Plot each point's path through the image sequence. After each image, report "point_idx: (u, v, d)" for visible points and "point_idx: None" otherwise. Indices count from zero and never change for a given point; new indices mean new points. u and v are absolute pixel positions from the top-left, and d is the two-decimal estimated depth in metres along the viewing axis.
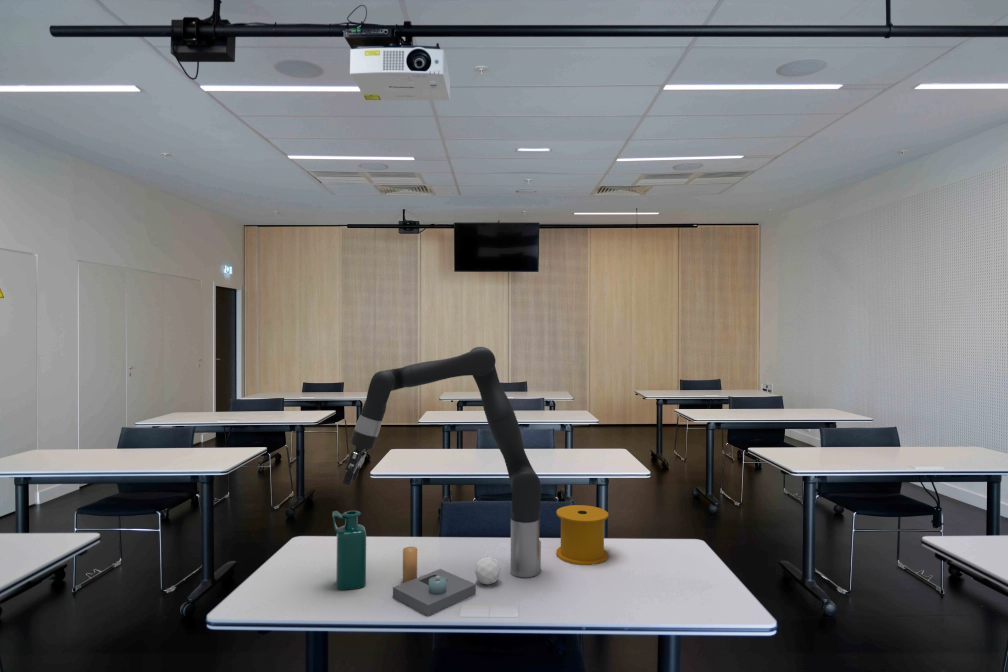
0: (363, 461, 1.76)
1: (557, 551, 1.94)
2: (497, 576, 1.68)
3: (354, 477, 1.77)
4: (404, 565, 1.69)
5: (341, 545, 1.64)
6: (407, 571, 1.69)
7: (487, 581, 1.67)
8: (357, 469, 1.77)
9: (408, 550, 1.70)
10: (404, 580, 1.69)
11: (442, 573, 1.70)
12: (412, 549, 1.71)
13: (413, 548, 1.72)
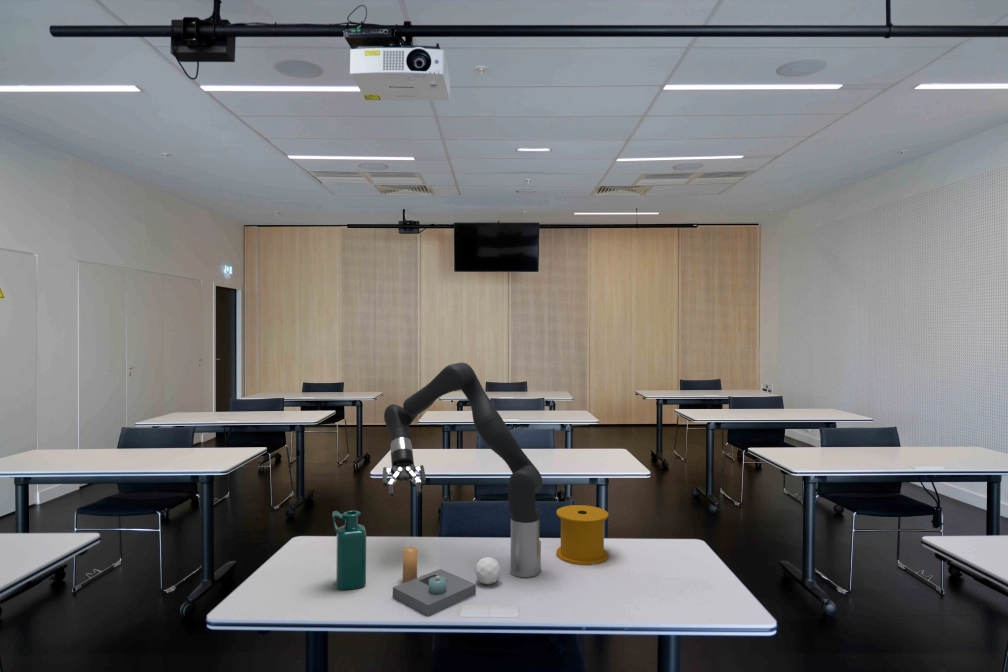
0: (414, 474, 1.86)
1: (557, 551, 1.94)
2: (497, 576, 1.68)
3: (417, 491, 1.83)
4: (404, 565, 1.69)
5: (341, 545, 1.64)
6: (407, 571, 1.69)
7: (487, 581, 1.67)
8: (416, 484, 1.85)
9: (408, 550, 1.70)
10: (404, 580, 1.69)
11: (442, 573, 1.70)
12: (412, 549, 1.71)
13: (413, 548, 1.72)
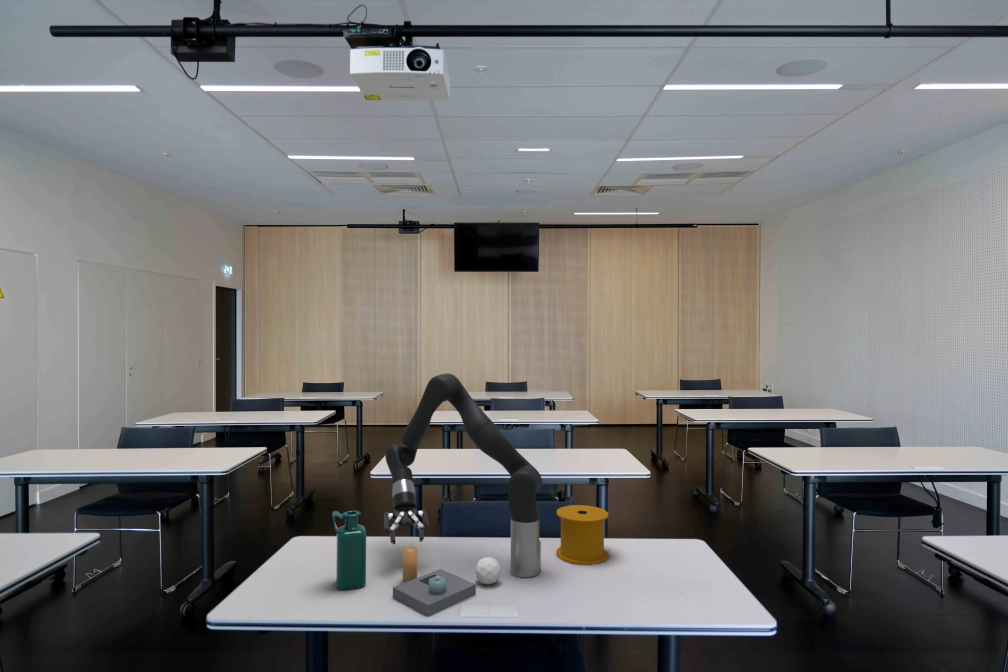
0: (416, 519, 1.81)
1: (557, 551, 1.94)
2: (497, 576, 1.68)
3: (420, 538, 1.78)
4: (404, 565, 1.69)
5: (341, 545, 1.64)
6: (407, 571, 1.69)
7: (487, 581, 1.67)
8: (419, 530, 1.79)
9: (408, 550, 1.70)
10: (404, 580, 1.69)
11: (442, 573, 1.70)
12: (412, 549, 1.71)
13: (413, 548, 1.72)
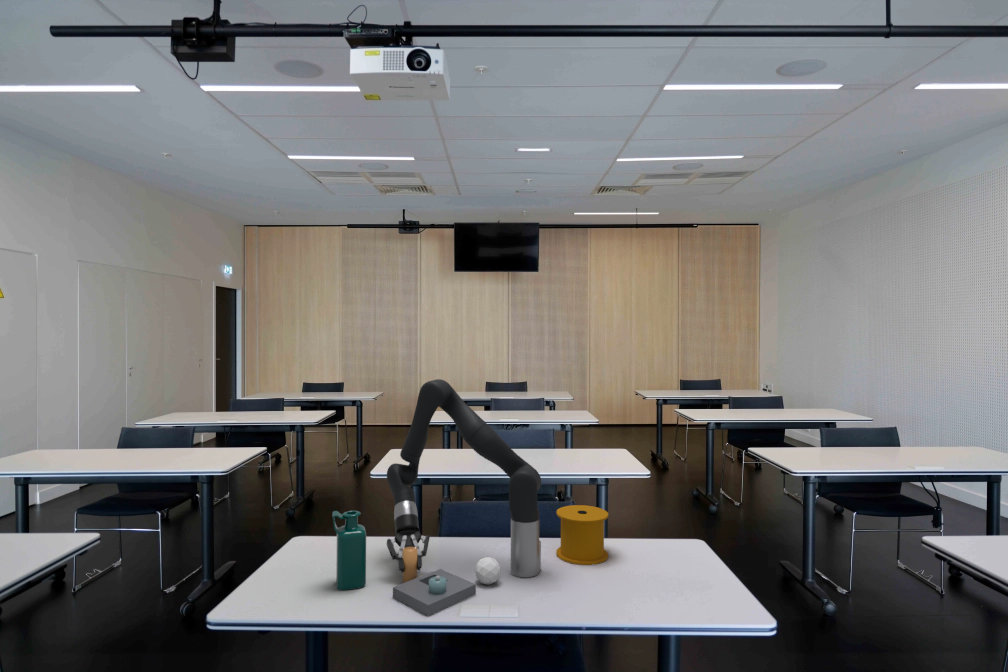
0: (416, 545, 1.73)
1: (557, 551, 1.94)
2: (497, 576, 1.68)
3: (417, 566, 1.70)
4: (404, 565, 1.69)
5: (341, 545, 1.64)
6: (407, 571, 1.69)
7: (487, 581, 1.67)
8: (417, 558, 1.71)
9: (408, 550, 1.70)
10: (404, 580, 1.69)
11: (442, 573, 1.70)
12: (412, 549, 1.71)
13: (413, 548, 1.72)
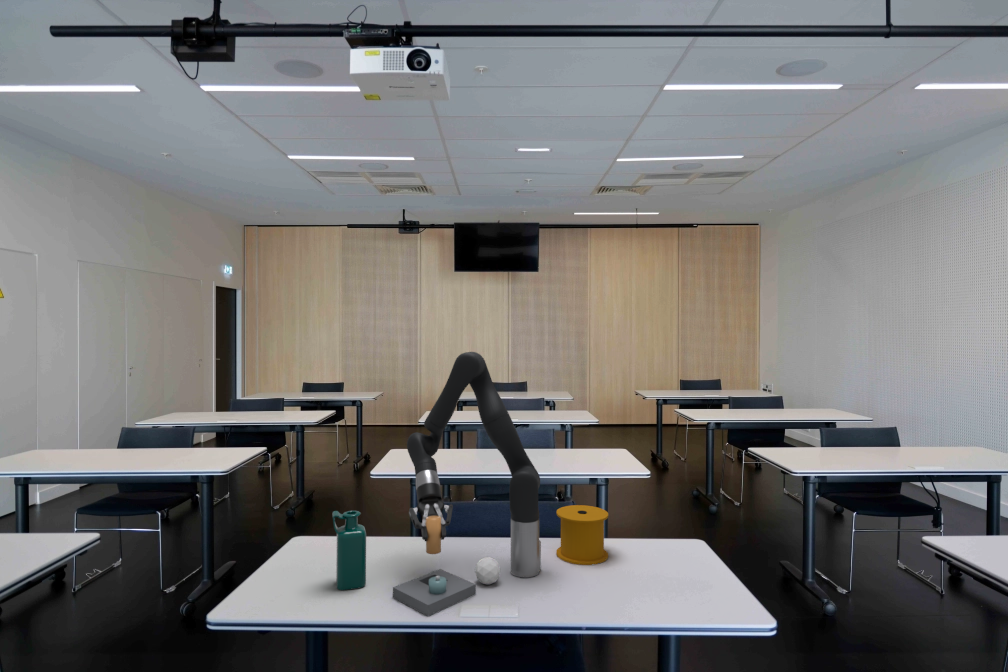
0: (440, 514, 1.67)
1: (557, 551, 1.94)
2: (497, 576, 1.68)
3: (441, 535, 1.64)
4: (428, 534, 1.63)
5: (341, 545, 1.64)
6: (431, 540, 1.63)
7: (487, 581, 1.67)
8: None
9: (432, 518, 1.64)
10: (428, 549, 1.63)
11: (442, 573, 1.70)
12: (436, 517, 1.65)
13: (436, 517, 1.66)
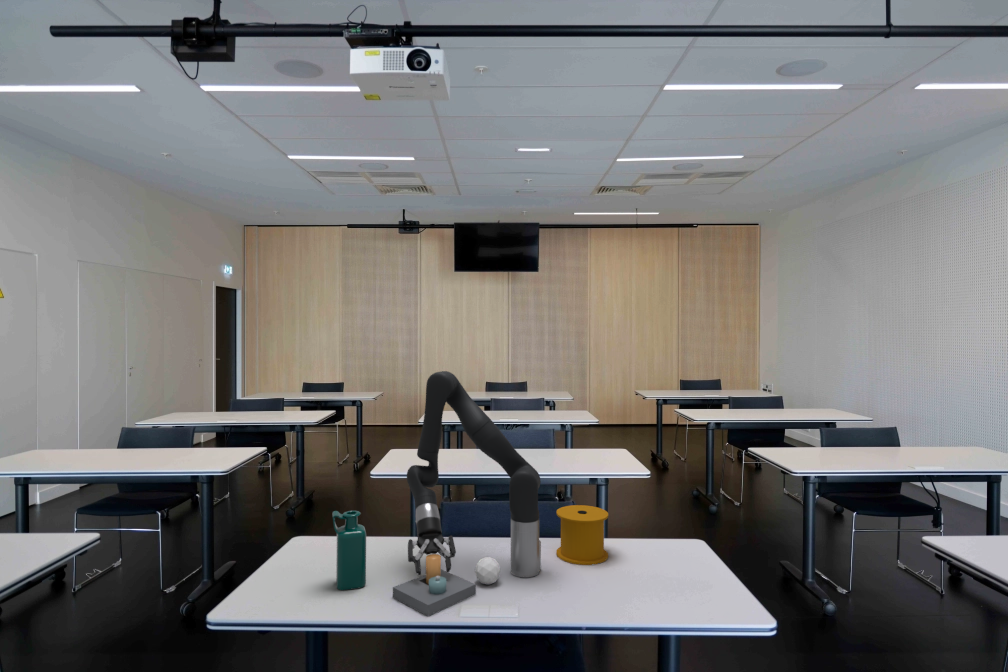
0: (443, 548, 1.68)
1: (557, 551, 1.94)
2: (497, 576, 1.68)
3: (447, 568, 1.65)
4: (427, 573, 1.63)
5: (341, 545, 1.64)
6: None
7: (487, 581, 1.67)
8: (446, 559, 1.66)
9: (431, 558, 1.64)
10: None
11: (442, 573, 1.70)
12: (435, 557, 1.65)
13: (436, 556, 1.66)
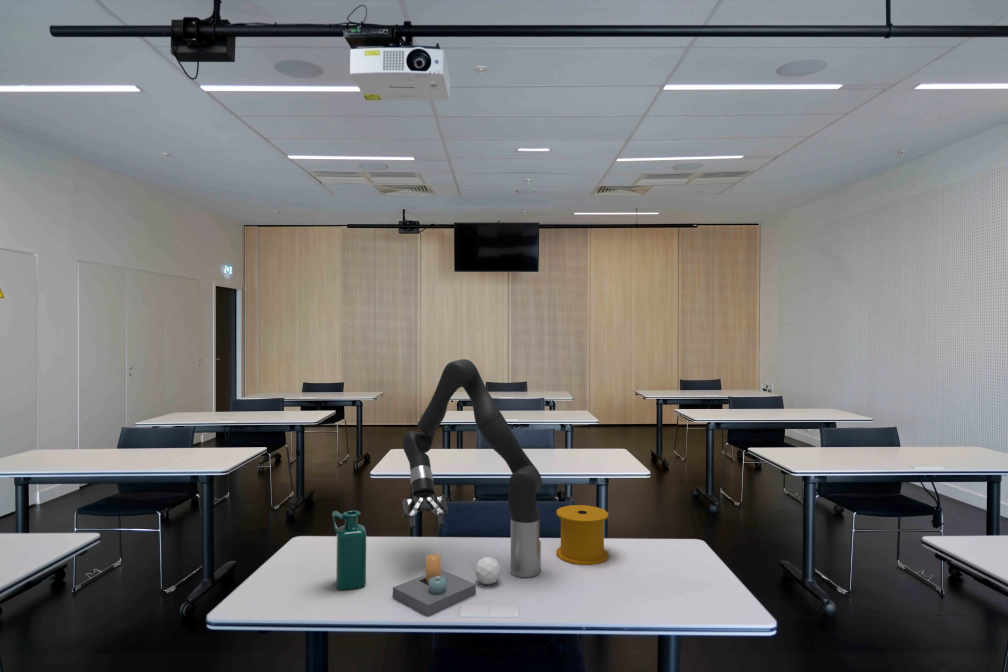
0: (436, 505, 1.79)
1: (557, 551, 1.94)
2: (497, 576, 1.68)
3: (439, 523, 1.76)
4: (427, 573, 1.63)
5: (341, 545, 1.64)
6: None
7: (487, 581, 1.67)
8: (438, 515, 1.78)
9: (431, 558, 1.64)
10: None
11: (442, 573, 1.70)
12: (436, 557, 1.65)
13: (436, 556, 1.66)
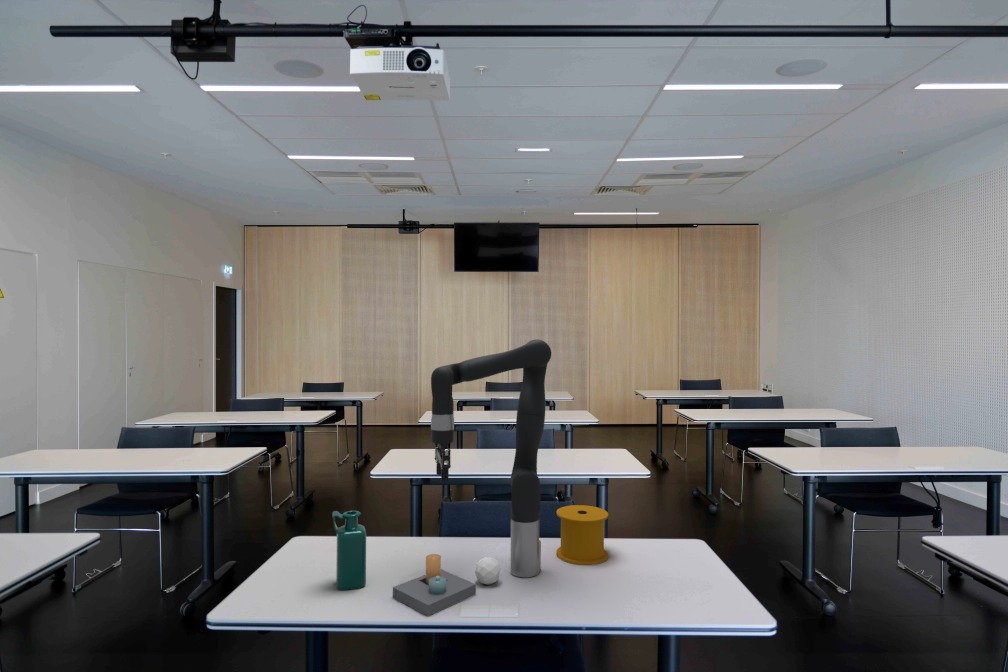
0: None
1: (557, 551, 1.94)
2: (497, 576, 1.68)
3: None
4: (427, 573, 1.63)
5: (341, 545, 1.64)
6: None
7: (487, 581, 1.67)
8: None
9: (431, 558, 1.64)
10: None
11: (442, 573, 1.70)
12: (436, 557, 1.65)
13: (436, 556, 1.66)
